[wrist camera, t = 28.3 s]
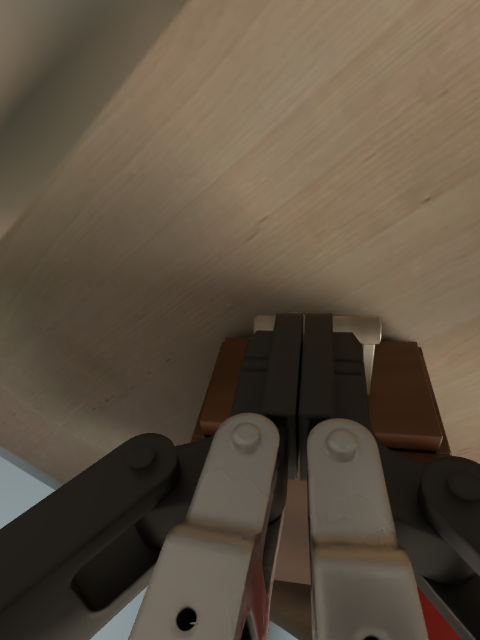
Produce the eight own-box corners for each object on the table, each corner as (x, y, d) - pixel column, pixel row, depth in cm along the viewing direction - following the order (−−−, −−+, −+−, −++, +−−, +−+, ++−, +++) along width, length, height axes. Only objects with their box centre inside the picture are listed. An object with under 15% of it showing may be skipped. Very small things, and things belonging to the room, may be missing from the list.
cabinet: (222, 342, 31) (188, 447, 24) (421, 346, 29) (455, 467, 21) (242, 467, 40) (222, 573, 33) (395, 480, 37) (413, 599, 30)
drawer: (215, 273, 27) (182, 351, 21) (429, 271, 24) (465, 359, 18) (244, 461, 38) (228, 547, 32) (392, 473, 36) (406, 570, 29)
